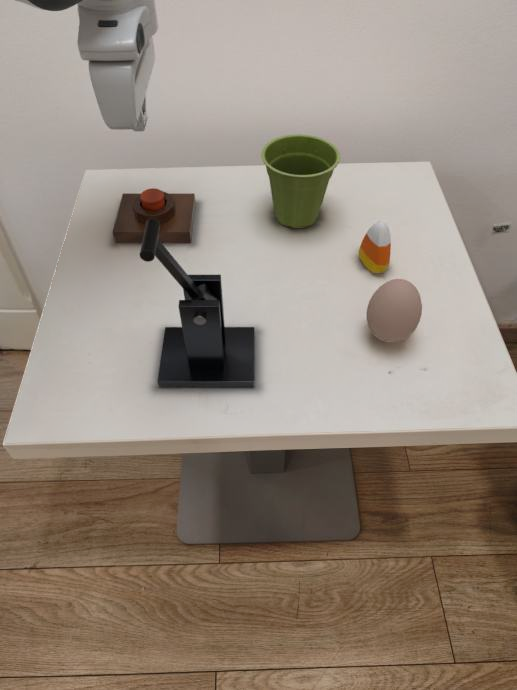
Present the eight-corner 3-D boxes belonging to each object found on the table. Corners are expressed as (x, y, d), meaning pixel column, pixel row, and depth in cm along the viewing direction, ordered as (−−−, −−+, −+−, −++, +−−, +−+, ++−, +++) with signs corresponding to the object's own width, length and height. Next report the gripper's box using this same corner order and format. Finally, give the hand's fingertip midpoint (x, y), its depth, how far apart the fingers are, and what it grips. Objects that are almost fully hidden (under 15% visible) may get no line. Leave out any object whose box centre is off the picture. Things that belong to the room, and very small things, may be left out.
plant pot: (346, 215, 86) (356, 153, 78) (298, 248, 81) (304, 186, 72) (293, 185, 92) (297, 125, 83) (246, 215, 86) (244, 153, 77)
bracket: (158, 387, 65) (140, 320, 55) (166, 332, 70) (151, 262, 60) (254, 387, 65) (253, 320, 55) (254, 332, 70) (254, 262, 60)
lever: (132, 255, 50) (152, 247, 49) (139, 222, 53) (158, 214, 53) (197, 327, 59) (215, 321, 58) (200, 296, 62) (217, 289, 61)
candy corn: (391, 273, 78) (403, 231, 71) (374, 279, 77) (385, 237, 71) (369, 249, 81) (379, 207, 75) (353, 255, 80) (361, 213, 74)
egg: (421, 347, 69) (441, 296, 61) (375, 360, 67) (390, 310, 60) (397, 311, 73) (413, 259, 65) (353, 322, 71) (364, 271, 64)
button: (140, 211, 81) (138, 202, 80) (143, 197, 83) (141, 188, 82) (163, 211, 81) (162, 202, 80) (166, 197, 83) (164, 188, 82)
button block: (115, 243, 82) (109, 222, 79) (125, 204, 88) (120, 184, 85) (191, 243, 82) (188, 222, 79) (195, 204, 88) (193, 184, 85)
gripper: (107, -17, 67) (129, 90, 78) (73, 51, 55) (104, 167, 66) (156, -17, 67) (170, 90, 78) (132, 51, 55) (154, 167, 66)
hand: (140, 126), depth 72 cm, fingers closed
